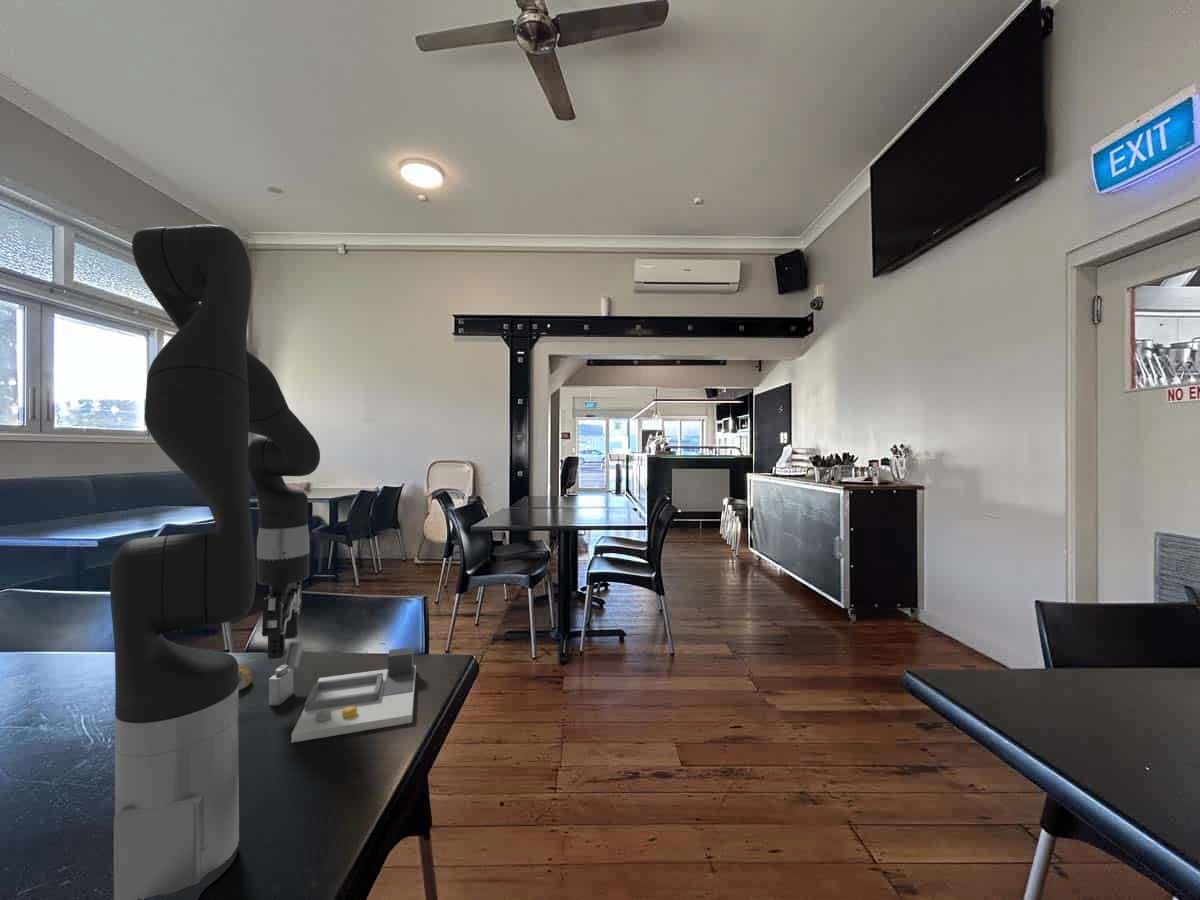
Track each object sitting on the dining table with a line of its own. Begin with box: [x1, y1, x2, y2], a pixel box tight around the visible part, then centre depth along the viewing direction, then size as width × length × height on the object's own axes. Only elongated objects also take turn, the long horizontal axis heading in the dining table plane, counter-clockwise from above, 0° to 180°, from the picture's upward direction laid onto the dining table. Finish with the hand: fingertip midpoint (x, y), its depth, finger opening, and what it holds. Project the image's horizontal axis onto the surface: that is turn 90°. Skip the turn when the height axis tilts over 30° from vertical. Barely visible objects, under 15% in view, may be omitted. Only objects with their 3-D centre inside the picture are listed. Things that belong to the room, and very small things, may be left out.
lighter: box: [268, 641, 304, 706], centre depth 84 cm, size 7×2×8 cm, turn 3°
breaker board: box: [290, 664, 417, 744], centre depth 81 cm, size 18×16×2 cm
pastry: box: [238, 663, 253, 692], centre depth 87 cm, size 9×7×4 cm
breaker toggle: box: [387, 647, 414, 676], centre depth 89 cm, size 3×4×4 cm
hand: (283, 647), depth 84 cm, fingers open, 8 cm apart
